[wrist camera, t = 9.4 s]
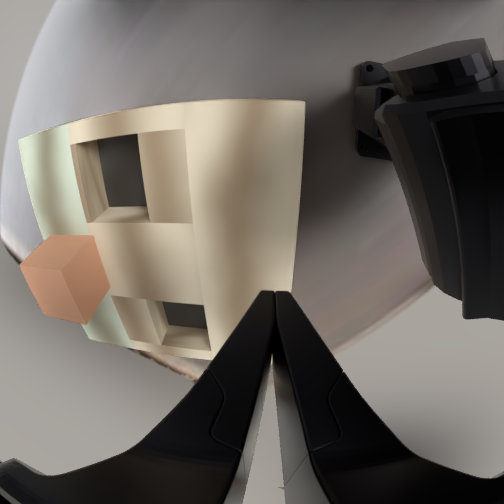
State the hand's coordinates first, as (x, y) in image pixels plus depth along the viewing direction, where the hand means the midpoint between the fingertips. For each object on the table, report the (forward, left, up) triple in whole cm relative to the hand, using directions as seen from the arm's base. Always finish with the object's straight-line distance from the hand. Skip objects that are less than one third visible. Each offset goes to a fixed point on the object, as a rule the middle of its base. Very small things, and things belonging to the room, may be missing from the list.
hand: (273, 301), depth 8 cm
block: (+16, +6, -9) cm, 19 cm away
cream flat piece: (+9, +6, -12) cm, 16 cm away
